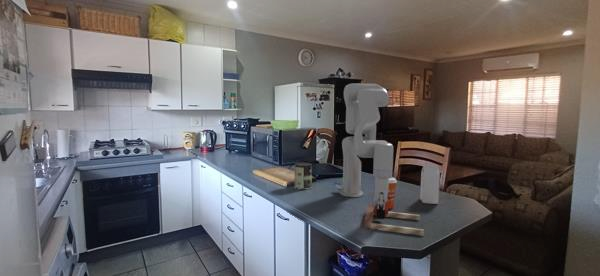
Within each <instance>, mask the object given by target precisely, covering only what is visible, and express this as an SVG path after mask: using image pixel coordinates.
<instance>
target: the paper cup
mask: <svg viewBox="0 0 600 276" xmlns="http://www.w3.org/2000/svg"><path fill="white" fill-rule="evenodd" d="M397 182H398V181H397V179H396V177H393V176H392V178H390V179H389V187H388V196H387V202H386V203H385V204H386V205H387V207H388V210H392V209H393V208H394V206H395V205H394V204H395V198H396V197H395V196H396V189H397Z"/></svg>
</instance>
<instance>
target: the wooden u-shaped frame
mask: <svg viewBox="0 0 600 276" xmlns="http://www.w3.org/2000/svg"><path fill="white" fill-rule="evenodd" d="M374 207H375V205H373V204H368V205H367V206H366V211H365V212H366V213H365V217H364V229H367V228H370V229H369V230H375V229H377V230H376V231H384V232H392V233H399V234H405V235H415V236H424V233H425V231H424V229H423V228H416V227H406V226H400V225H392V224H384V223H383V224H382V223H375V222H373V218H374V216H376V215H375V213H374ZM386 217H387V218H395V219H403V220H404V219H405V220H413V221H420V218H421V217H420V214H414V213H405V212H395V211H389V210H388V215H387V216H386Z"/></svg>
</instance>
